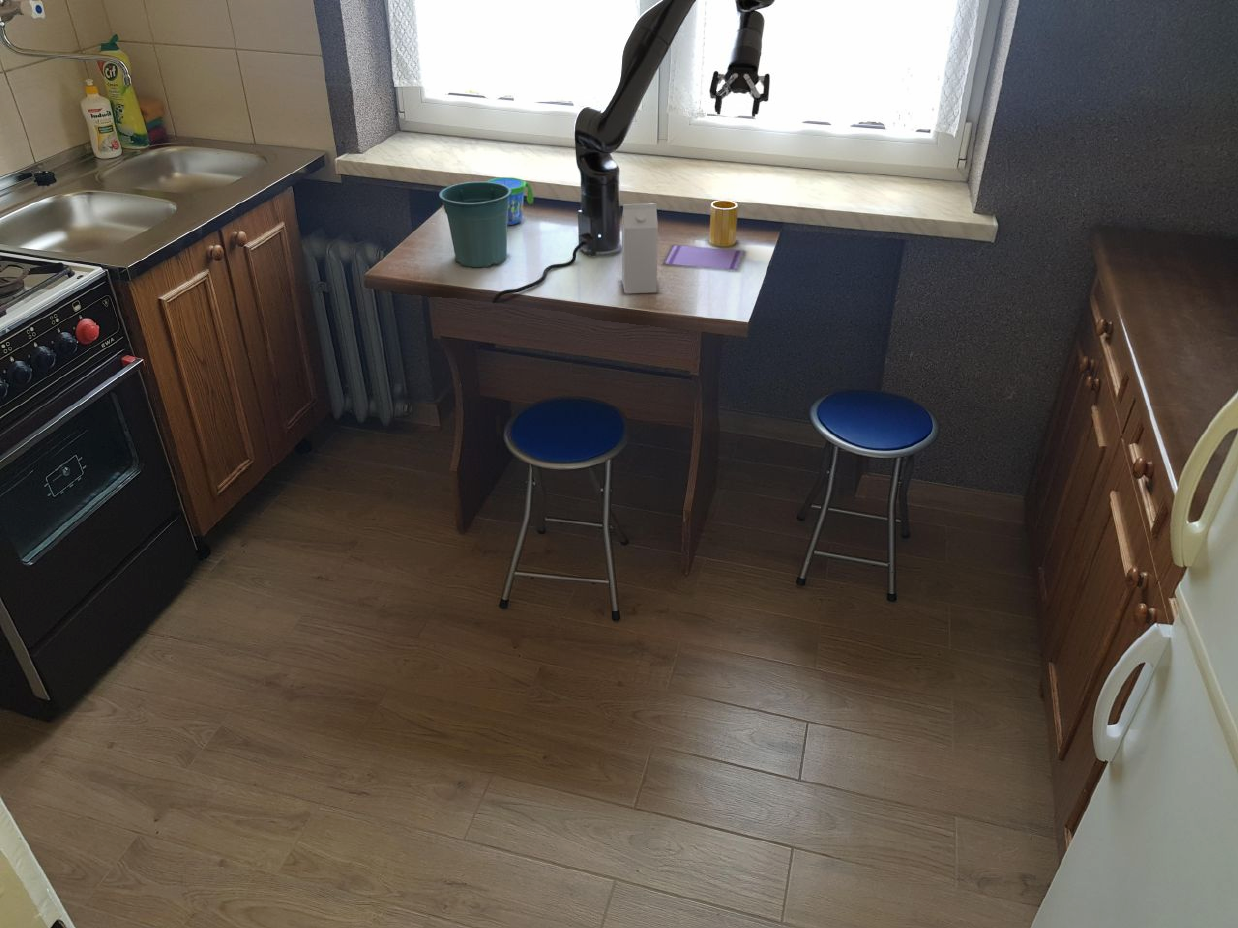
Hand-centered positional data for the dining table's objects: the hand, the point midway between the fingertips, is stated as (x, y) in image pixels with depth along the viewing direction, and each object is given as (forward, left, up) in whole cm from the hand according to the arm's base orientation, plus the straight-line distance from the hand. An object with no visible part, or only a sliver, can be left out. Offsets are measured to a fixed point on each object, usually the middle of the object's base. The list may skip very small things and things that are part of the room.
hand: (735, 114), depth 230 cm
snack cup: (-46, +34, -28) cm, 64 cm away
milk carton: (-41, -20, -28) cm, 54 cm away
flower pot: (-63, +15, -28) cm, 71 cm away
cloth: (-19, -14, -28) cm, 36 cm away
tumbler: (-9, -8, -28) cm, 30 cm away
